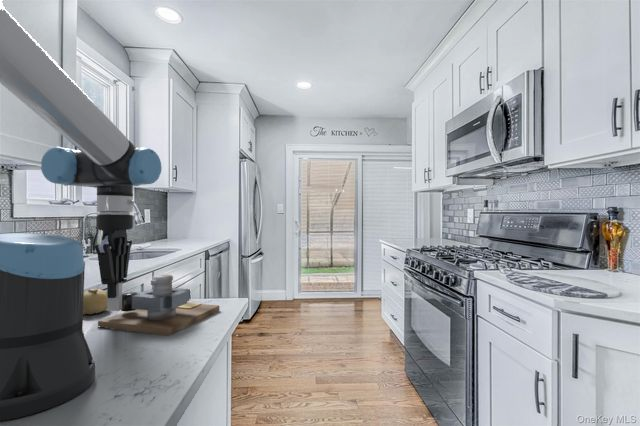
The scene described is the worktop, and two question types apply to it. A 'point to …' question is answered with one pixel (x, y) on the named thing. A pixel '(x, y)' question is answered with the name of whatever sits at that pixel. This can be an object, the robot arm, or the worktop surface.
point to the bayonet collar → (154, 300)
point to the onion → (94, 301)
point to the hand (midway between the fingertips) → (114, 309)
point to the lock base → (158, 326)
